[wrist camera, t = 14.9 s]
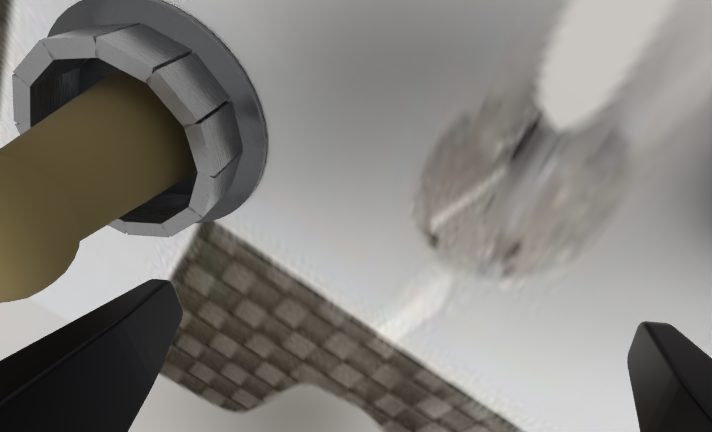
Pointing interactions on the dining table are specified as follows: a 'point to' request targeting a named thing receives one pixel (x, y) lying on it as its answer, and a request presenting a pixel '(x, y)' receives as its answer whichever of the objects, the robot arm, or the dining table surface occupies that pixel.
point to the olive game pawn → (83, 177)
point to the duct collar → (171, 84)
